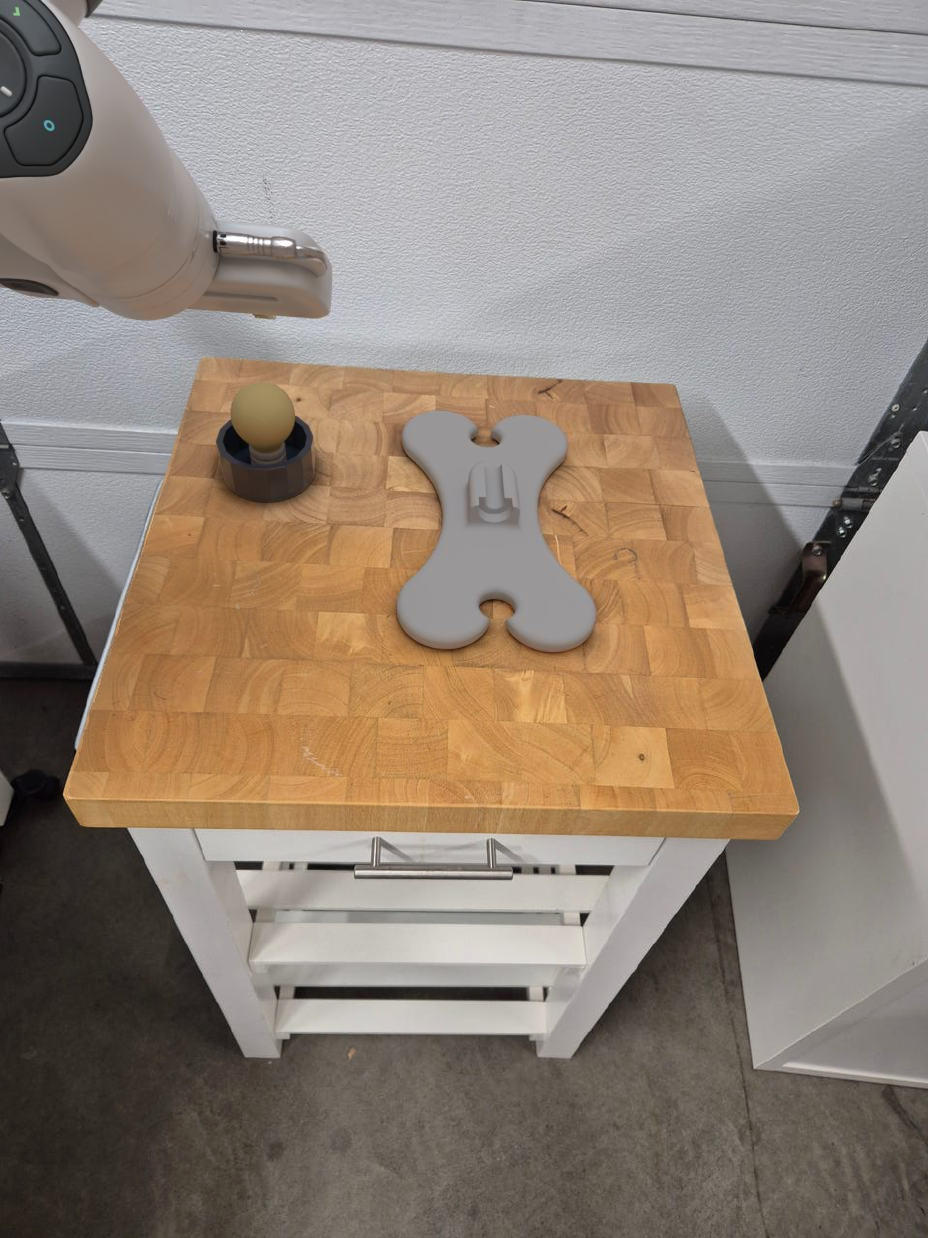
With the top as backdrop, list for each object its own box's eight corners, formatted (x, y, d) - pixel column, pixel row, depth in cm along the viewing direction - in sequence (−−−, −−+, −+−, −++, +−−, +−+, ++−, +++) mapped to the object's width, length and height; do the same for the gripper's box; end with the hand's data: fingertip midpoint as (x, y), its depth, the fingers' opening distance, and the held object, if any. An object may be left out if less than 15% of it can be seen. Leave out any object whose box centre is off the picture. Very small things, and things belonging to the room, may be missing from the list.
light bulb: (243, 447, 90) (230, 368, 82) (302, 449, 90) (294, 371, 83) (236, 486, 86) (222, 407, 78) (297, 487, 86) (289, 409, 79)
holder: (561, 427, 98) (569, 392, 94) (599, 656, 76) (611, 623, 72) (402, 419, 96) (403, 383, 92) (395, 651, 75) (395, 616, 71)
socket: (214, 499, 85) (207, 465, 82) (232, 439, 91) (226, 406, 88) (308, 505, 86) (306, 472, 82) (320, 445, 92) (318, 413, 88)
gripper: (324, 188, 45) (347, 269, 59) (-54, 155, 44) (59, 245, 58) (318, 305, 46) (343, 357, 60) (-54, 275, 45) (58, 336, 59)
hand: (200, 302), depth 59 cm, fingers open, 8 cm apart
